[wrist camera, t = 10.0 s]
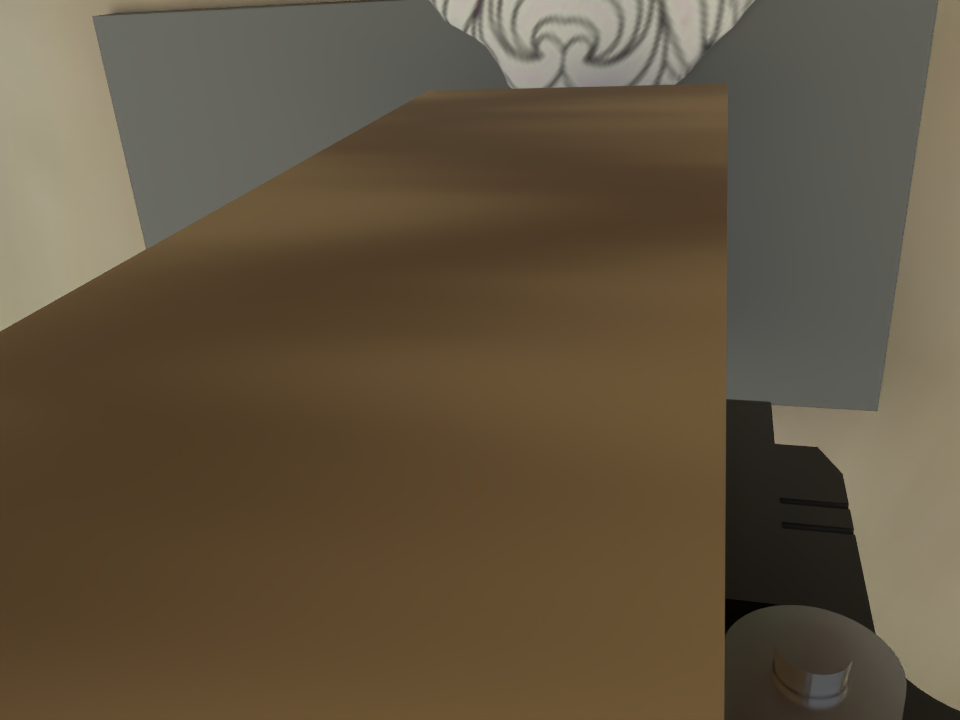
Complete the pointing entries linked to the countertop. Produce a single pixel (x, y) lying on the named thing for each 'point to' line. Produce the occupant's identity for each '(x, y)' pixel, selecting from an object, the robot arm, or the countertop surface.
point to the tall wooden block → (391, 433)
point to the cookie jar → (594, 38)
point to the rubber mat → (470, 66)
